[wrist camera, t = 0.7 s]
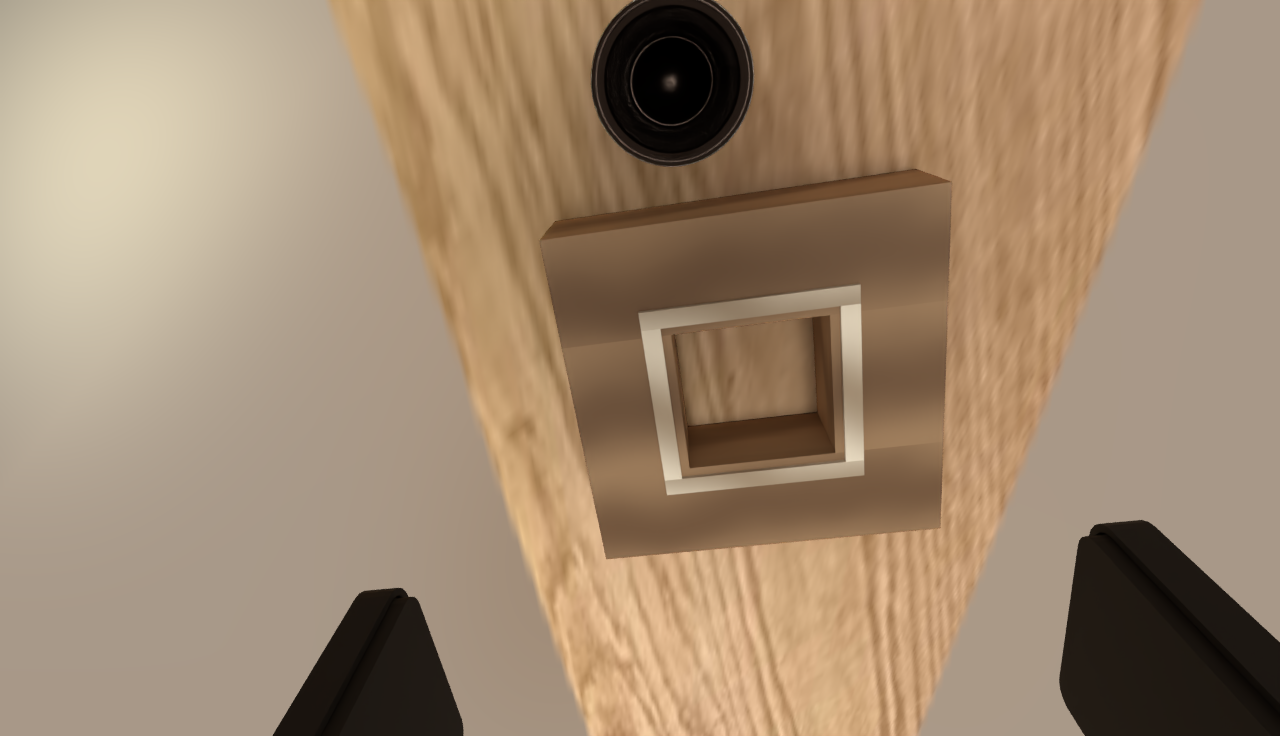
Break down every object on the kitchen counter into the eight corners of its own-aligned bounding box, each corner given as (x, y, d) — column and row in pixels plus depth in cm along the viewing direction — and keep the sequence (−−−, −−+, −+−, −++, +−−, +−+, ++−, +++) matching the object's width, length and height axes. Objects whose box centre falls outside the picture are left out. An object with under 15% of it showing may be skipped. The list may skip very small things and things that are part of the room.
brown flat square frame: (555, 221, 30) (538, 241, 26) (915, 169, 29) (954, 182, 25) (612, 511, 36) (605, 561, 32) (911, 481, 35) (942, 530, 31)
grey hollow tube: (611, 28, 27) (579, -2, 18) (723, 14, 27) (751, -23, 17) (623, 144, 29) (601, 175, 19) (728, 133, 28) (757, 159, 19)
